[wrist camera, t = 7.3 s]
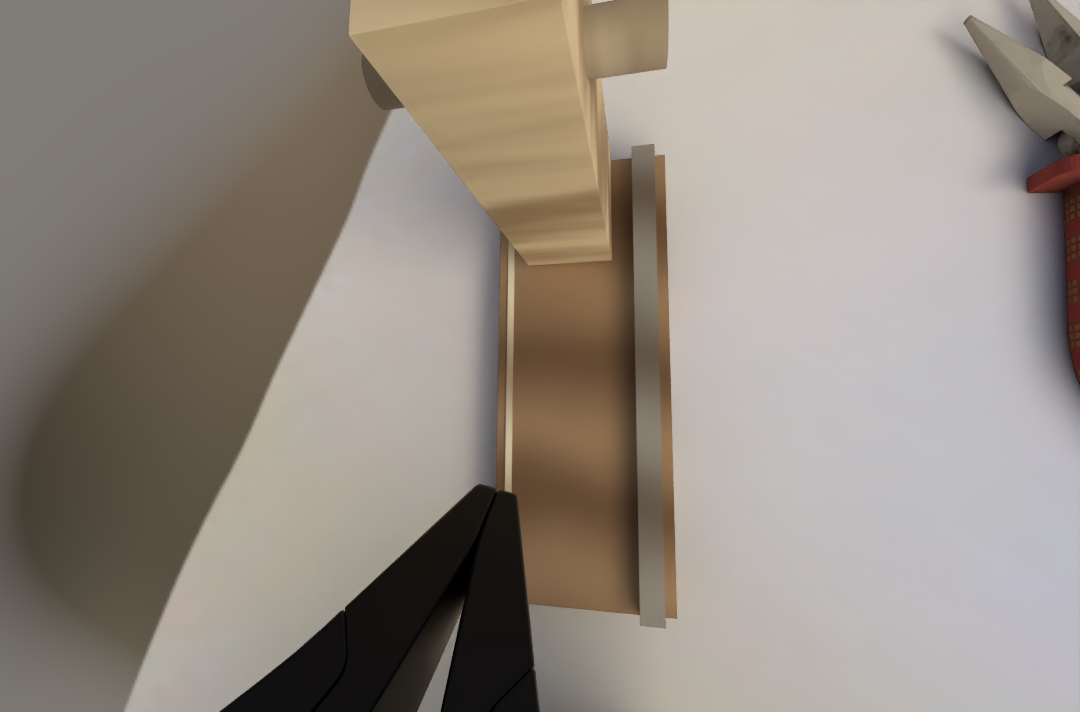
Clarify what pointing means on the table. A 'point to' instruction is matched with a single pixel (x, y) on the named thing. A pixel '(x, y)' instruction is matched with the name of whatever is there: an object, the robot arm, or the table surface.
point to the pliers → (1047, 119)
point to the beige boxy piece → (516, 102)
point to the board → (593, 411)
